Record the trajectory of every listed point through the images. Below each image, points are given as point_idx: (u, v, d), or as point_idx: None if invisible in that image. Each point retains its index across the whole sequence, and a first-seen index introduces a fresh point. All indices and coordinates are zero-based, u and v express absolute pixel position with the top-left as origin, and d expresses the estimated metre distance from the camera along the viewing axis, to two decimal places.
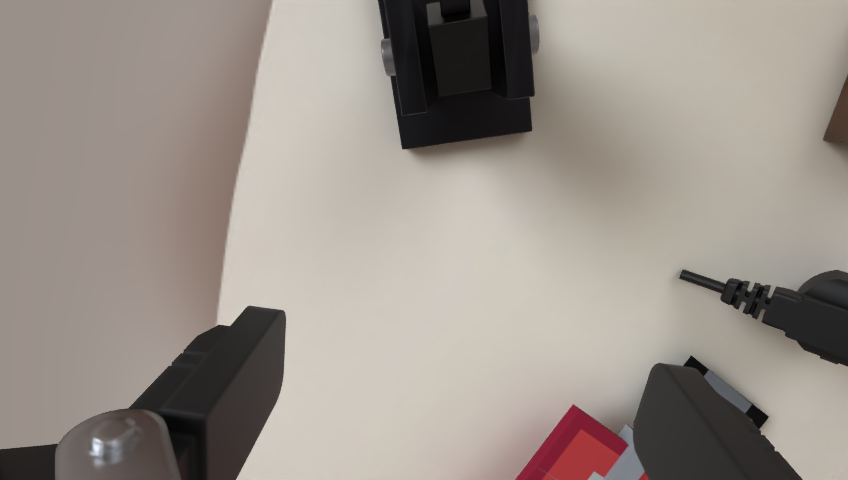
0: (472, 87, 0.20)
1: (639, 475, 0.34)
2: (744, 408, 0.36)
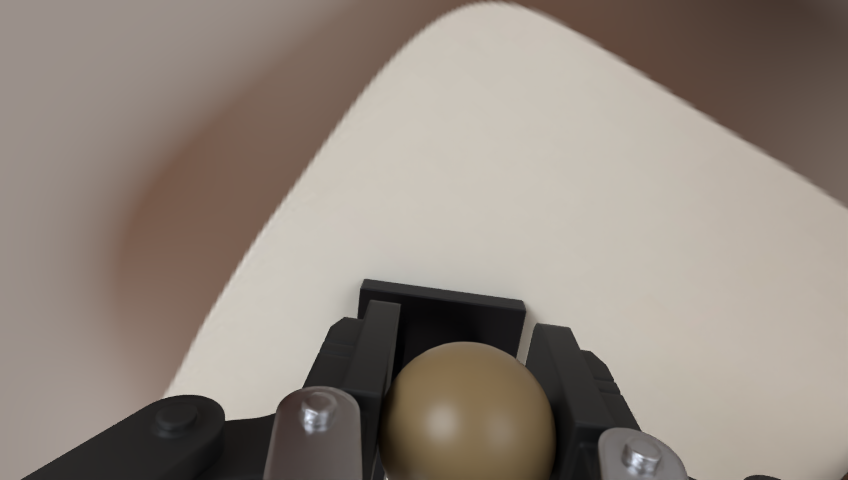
0: None
1: None
2: None
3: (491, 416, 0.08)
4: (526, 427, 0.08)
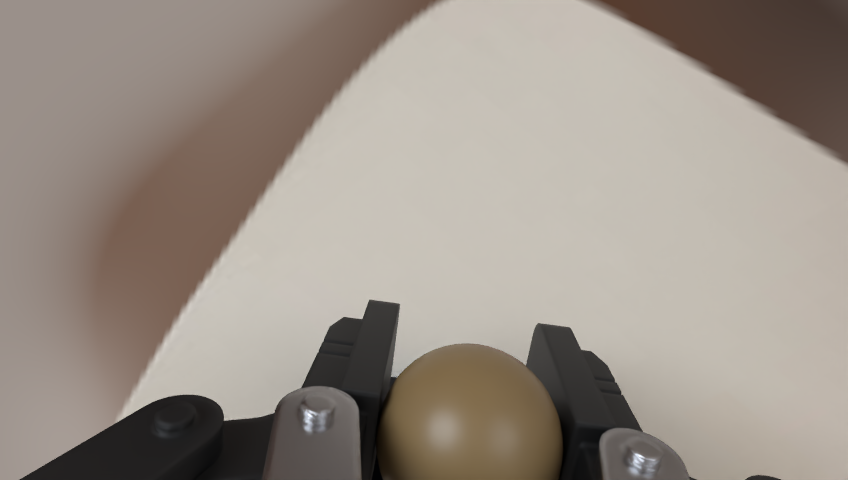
0: None
1: None
2: None
3: (494, 360, 0.08)
4: (528, 377, 0.08)
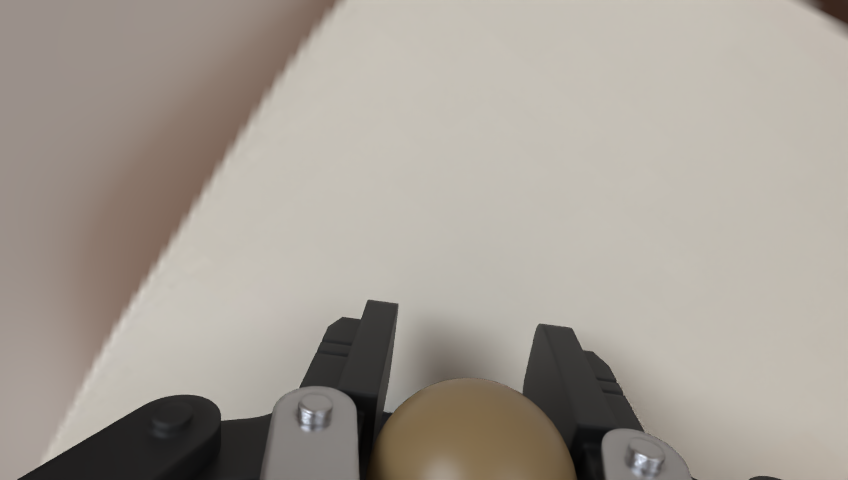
0: None
1: None
2: None
3: (496, 387, 0.08)
4: (534, 407, 0.07)
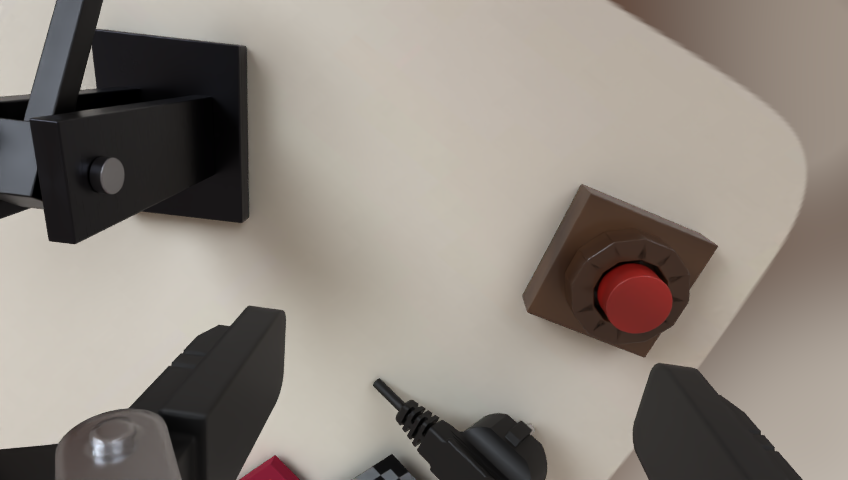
0: (10, 189, 0.18)
1: None
2: None
3: None
4: None
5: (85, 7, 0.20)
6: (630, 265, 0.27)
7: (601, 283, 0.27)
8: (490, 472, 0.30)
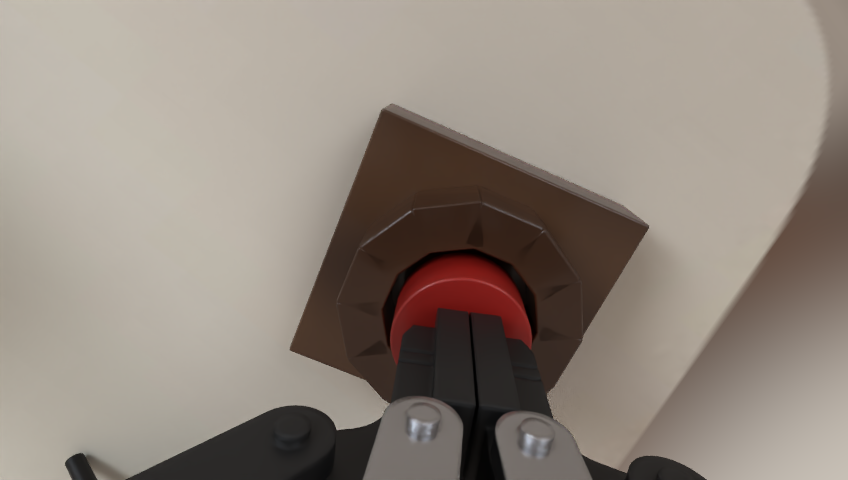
0: None
1: None
2: None
3: None
4: None
5: None
6: (453, 257, 0.13)
7: (399, 294, 0.13)
8: None
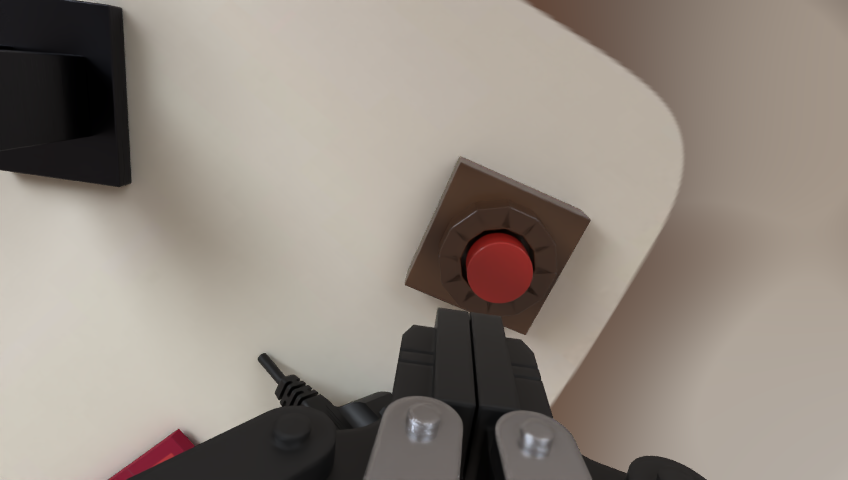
0: None
1: None
2: None
3: None
4: None
5: None
6: (495, 234, 0.26)
7: (468, 253, 0.27)
8: None
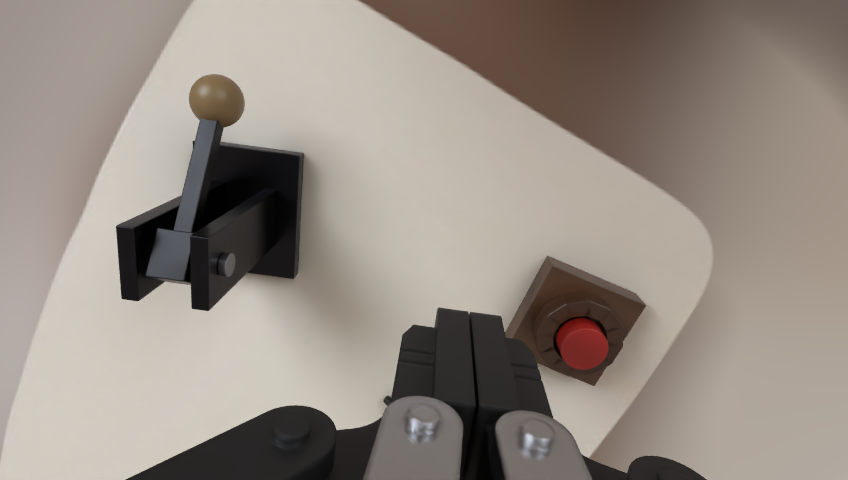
0: (170, 276, 0.28)
1: None
2: None
3: None
4: (231, 80, 0.31)
5: (212, 151, 0.30)
6: (579, 320, 0.37)
7: (559, 332, 0.37)
8: None
